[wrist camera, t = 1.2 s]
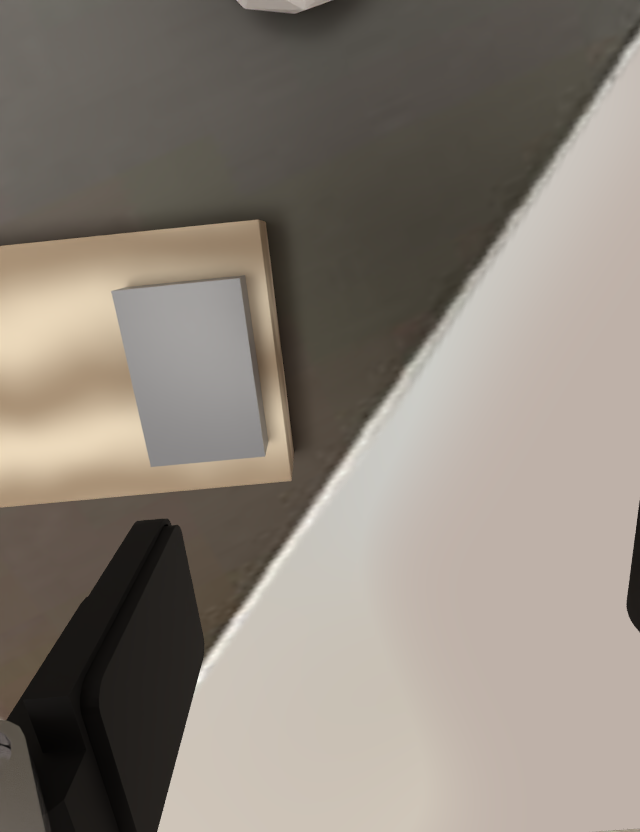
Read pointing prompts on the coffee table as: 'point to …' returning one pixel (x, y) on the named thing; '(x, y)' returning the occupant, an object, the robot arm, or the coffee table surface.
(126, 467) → the light wood flat block
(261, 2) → the perfume bottle
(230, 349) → the grey rectangular block
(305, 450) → the coffee table surface
